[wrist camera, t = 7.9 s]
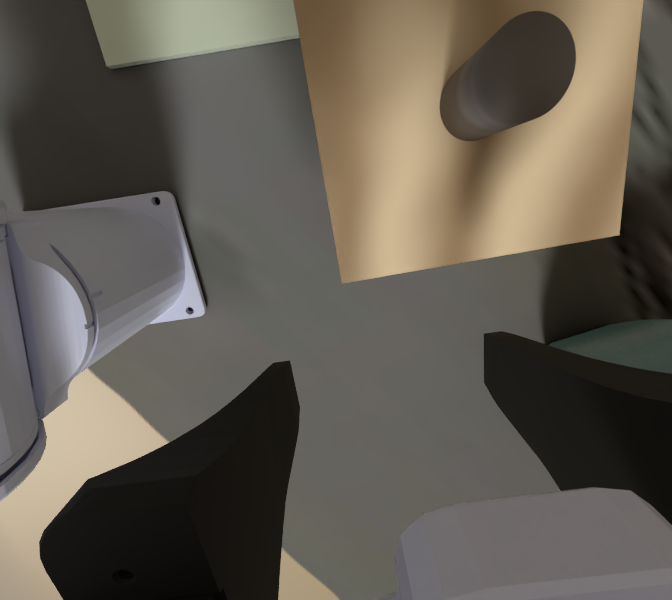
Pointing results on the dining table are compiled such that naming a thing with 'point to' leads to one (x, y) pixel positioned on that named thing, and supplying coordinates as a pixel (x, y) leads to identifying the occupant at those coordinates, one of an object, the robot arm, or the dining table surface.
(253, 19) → the mat
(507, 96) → the lid
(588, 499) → the robot arm
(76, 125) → the dining table surface
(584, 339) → the flower pot
